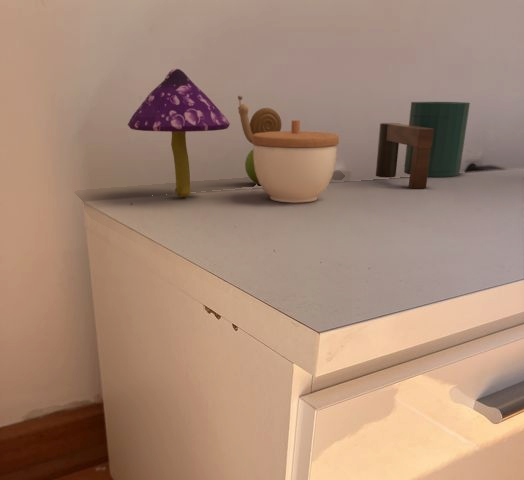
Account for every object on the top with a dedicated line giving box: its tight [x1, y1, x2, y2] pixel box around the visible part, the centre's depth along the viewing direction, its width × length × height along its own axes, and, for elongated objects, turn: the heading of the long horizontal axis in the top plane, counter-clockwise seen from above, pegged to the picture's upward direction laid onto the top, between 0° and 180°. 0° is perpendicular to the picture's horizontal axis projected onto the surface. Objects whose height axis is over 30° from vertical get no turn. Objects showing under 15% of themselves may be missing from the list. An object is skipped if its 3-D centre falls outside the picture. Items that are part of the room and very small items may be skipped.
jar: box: [403, 101, 471, 178], centre depth 94 cm, size 9×9×11 cm
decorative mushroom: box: [127, 68, 231, 199], centre depth 70 cm, size 12×12×15 cm
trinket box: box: [251, 119, 340, 204], centre depth 72 cm, size 11×11×9 cm
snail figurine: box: [237, 94, 283, 185], centre depth 81 cm, size 5×6×12 cm
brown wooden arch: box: [375, 122, 434, 189], centre depth 86 cm, size 14×3×8 cm, turn 12°
